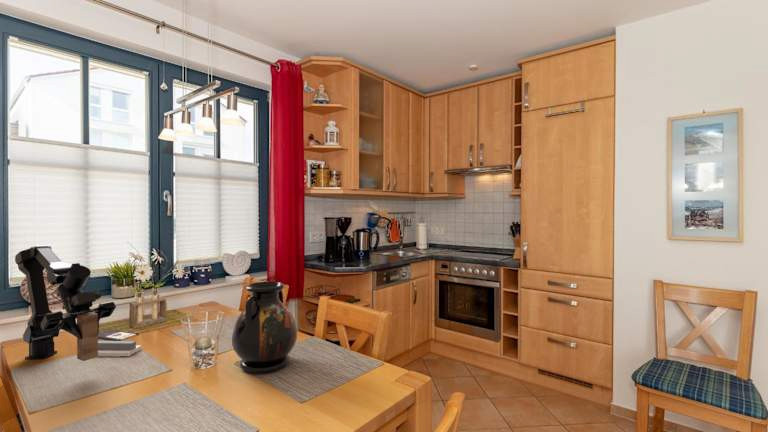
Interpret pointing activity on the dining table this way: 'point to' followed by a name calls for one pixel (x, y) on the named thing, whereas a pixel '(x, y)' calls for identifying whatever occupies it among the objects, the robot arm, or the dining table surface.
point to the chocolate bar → (115, 335)
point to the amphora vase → (264, 330)
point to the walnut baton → (87, 336)
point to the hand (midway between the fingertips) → (89, 336)
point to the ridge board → (118, 352)
